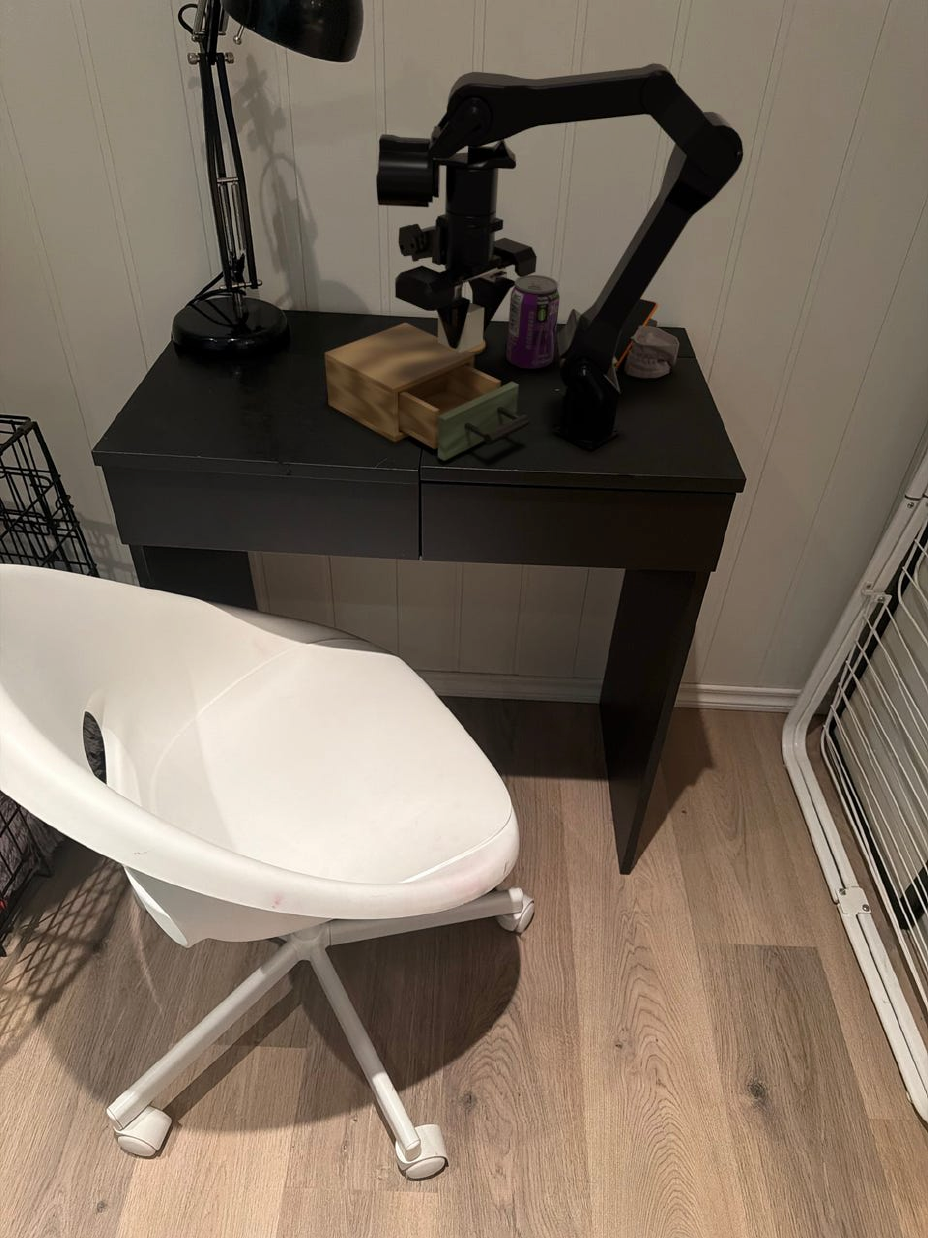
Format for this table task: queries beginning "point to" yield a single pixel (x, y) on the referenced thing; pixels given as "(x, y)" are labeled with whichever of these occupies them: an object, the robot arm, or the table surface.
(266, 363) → the table surface
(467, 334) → the block
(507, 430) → the drawer
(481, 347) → the coaster
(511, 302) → the beverage can
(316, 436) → the table surface
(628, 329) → the smartphone
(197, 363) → the table surface
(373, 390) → the cabinet
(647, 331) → the dental mold
